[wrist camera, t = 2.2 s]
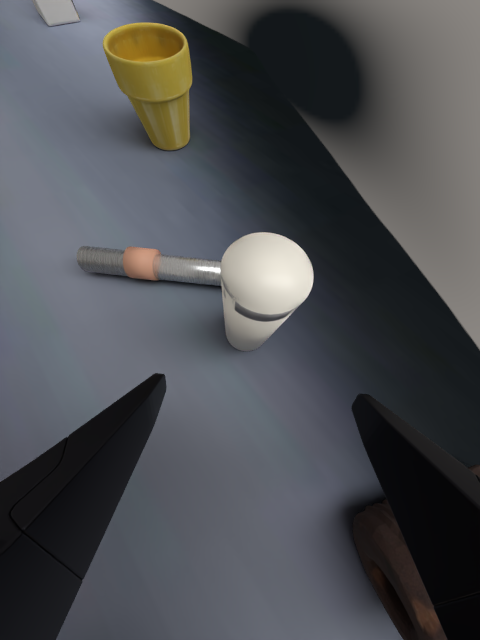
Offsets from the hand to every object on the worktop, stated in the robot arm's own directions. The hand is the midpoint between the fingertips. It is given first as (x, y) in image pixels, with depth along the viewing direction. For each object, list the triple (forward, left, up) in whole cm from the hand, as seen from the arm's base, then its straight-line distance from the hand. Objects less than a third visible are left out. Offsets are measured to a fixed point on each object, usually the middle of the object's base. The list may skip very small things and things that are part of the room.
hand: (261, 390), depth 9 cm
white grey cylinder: (+6, 0, -12) cm, 14 cm away
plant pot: (+39, +16, -13) cm, 44 cm away
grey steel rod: (+13, +7, -12) cm, 19 cm away
